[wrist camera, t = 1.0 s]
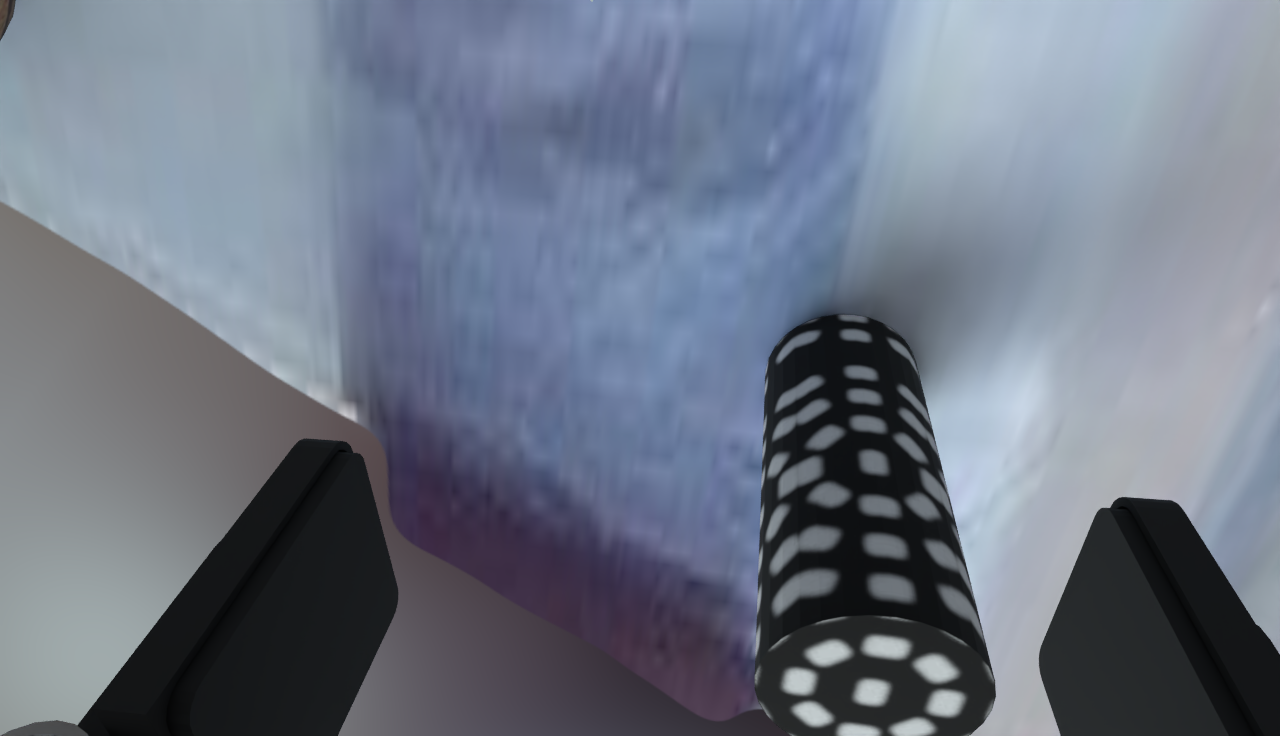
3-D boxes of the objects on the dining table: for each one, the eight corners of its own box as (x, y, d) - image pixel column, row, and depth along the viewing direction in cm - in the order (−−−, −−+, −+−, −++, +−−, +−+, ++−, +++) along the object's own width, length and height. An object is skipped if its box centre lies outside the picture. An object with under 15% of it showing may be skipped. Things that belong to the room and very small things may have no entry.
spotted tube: (774, 306, 43) (768, 599, 27) (932, 322, 42) (1027, 635, 26) (757, 427, 48) (743, 739, 31) (899, 443, 47) (961, 774, 30)
